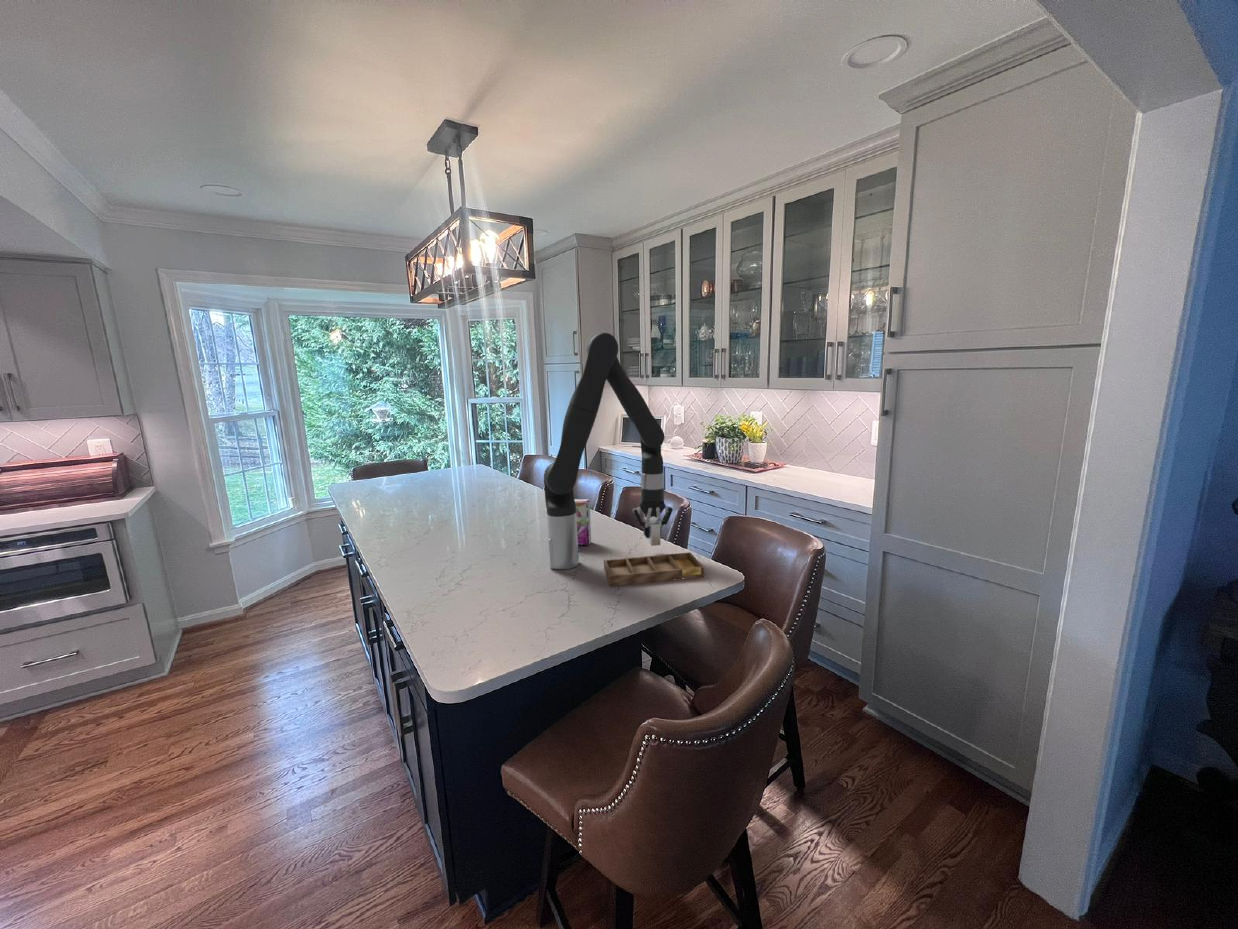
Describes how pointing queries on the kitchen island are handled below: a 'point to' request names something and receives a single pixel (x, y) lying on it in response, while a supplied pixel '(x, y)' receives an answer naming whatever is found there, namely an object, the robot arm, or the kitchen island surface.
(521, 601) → the kitchen island surface
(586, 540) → the candy bar box
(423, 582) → the kitchen island surface
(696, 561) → the rack
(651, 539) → the panel
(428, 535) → the kitchen island surface
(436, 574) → the kitchen island surface
